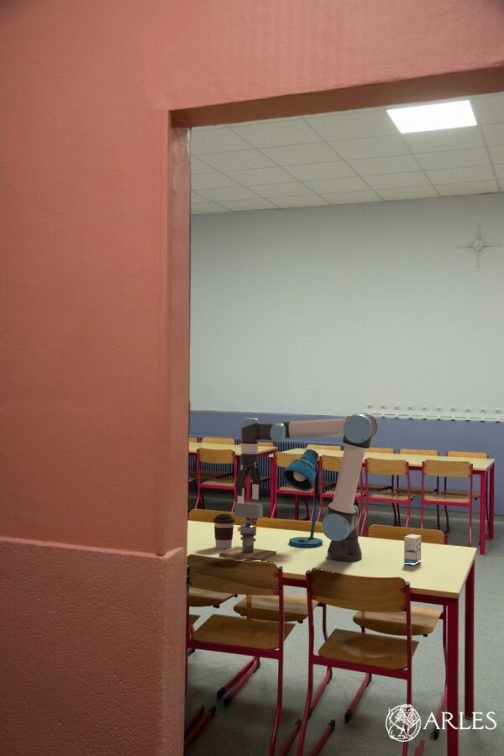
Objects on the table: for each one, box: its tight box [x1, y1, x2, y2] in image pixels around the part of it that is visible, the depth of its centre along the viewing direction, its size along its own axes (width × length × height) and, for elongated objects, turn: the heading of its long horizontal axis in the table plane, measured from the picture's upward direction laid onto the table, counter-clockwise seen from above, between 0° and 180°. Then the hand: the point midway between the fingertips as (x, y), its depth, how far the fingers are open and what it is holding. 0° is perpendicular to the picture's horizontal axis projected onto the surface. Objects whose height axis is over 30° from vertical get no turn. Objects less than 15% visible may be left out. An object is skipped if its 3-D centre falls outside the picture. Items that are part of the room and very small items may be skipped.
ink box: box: [403, 533, 422, 564], centre depth 318 cm, size 9×5×12 cm, turn 148°
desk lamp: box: [281, 448, 324, 549], centre depth 352 cm, size 16×22×45 cm
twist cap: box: [233, 501, 264, 537], centre depth 328 cm, size 12×7×14 cm, turn 62°
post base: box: [218, 536, 277, 561], centre depth 328 cm, size 20×16×9 cm
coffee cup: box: [212, 513, 236, 550], centre depth 343 cm, size 10×10×15 cm
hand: (248, 501), depth 328 cm, fingers open, 13 cm apart
